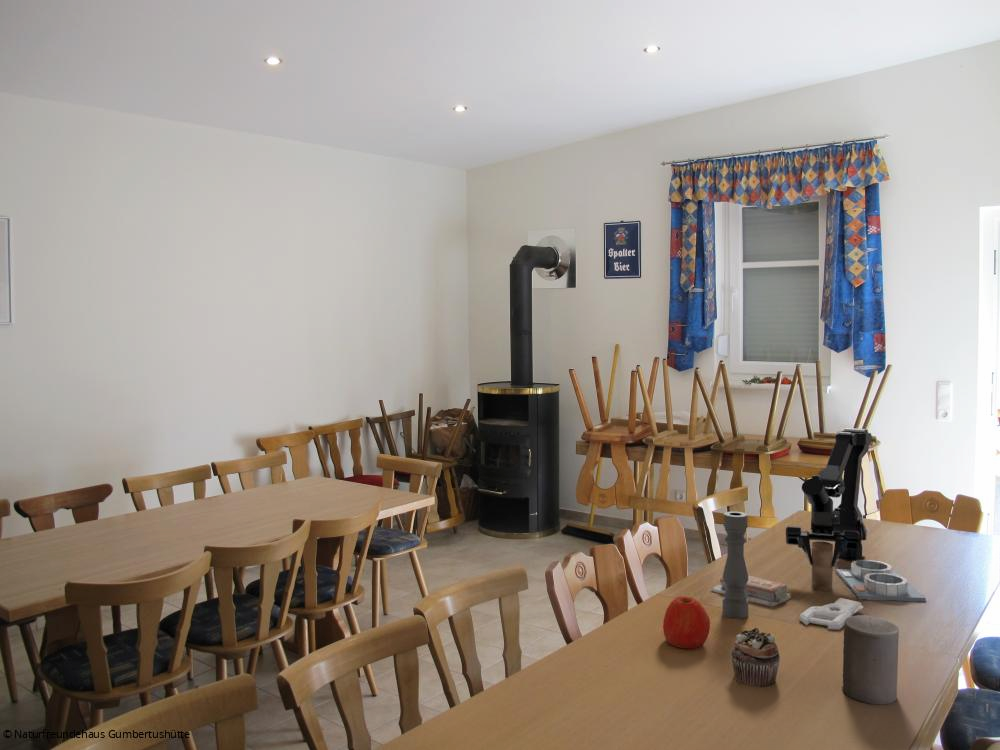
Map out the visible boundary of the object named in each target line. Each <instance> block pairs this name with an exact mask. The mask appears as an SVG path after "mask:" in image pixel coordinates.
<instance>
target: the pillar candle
mask: <svg viewBox="0 0 1000 750" xmlns="http://www.w3.org/2000/svg"><path fill="white" fill-rule="evenodd" d="M899 633H900V628H899V626H898V625H896V624H895V623H894V622H892V621H889V620H888V619H886V618H881V617H877V616H871V615H870V616H869V615H861V614H860V615H859V614H858V615H857V614H856V615H852V616H851V617H848V618H846V619H845V621H844V626H843V647H842V648H843V650H842V654H843V655H842V656H843V659H842V687H841V690H842V692H843V694H845V695H846V696H847V697H849V698H851V699H853V700H855V701H858V702H862V703H864V704H870V705H890V704H893V703H894V702H895V701H896V700H897V696H898V693H897V692H898V669H899V668H898V667H899V664H898V663H899V638H900V637H899V636H900V635H899Z"/></svg>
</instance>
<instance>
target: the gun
mask: <svg viewBox="0 0 1000 750" xmlns="http://www.w3.org/2000/svg"><path fill="white" fill-rule="evenodd" d="M863 609H864V606H863V605H862V603H861V602H859V601H856V600H851V599H848V598H847V599H846V598H843V597H839V598H838V599H837V600H836V601H834V603H832V602H830V603H828V604H824V605H818V606H809V607H808V608H807V609H806V610H804V611H803V612H801V614H799V616H798V617H799V618H798V619H799V621H800V622H801V623H802V624H804V625H805V626H808V625H809V624H816V625H821V626H826V627H827V630H841V629H842V628H844V621H845V619H846V618H848V617H851V616H854V614H857V612H858V611H860V610H861V611H862V610H863Z"/></svg>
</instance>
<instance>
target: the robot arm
mask: <svg viewBox="0 0 1000 750" xmlns="http://www.w3.org/2000/svg"><path fill="white" fill-rule="evenodd" d="M872 440H873V435H872V433H871V432H869V431H868V429H866V428H853V427H845V428H844V429H843V430H839V431H837V432H836V435H835V443H834V444H833V448H832V450H831V453H830V455H829V458H828V461H827V462H826V463H827V464H826V465H825V467H824V468H823V469H821V470H820V471H818V473H817V475H815V474H814V475H812V477H811V478H808V479H806V480H805V481H804V482H803V483H802V484H801V491H802V492H803V493H802V494H803V495H804V496H805V499H806V500H807V502H808V504H809V505H811V506H810V507H811V508H810V510H811V511H810V512H811V515H810V516H811V517H810V531H808V530H804V529H803V530H802V526H796V525H795V526H794V525H793V526H792V525H787V526H786V528H785V543H786V544H787V545H792V546H797V547H798V548H801V549H802V551H803V552H804V554H805V556H806V558H807V560H808V564H809V565H810V566H812V547H811V542H810V541H817V542H818V541H820V542H830V543H832V542H833V543H834V546H833V547H834V548H833V568H835V566H836V563H837V561H838V559H841V560H842V559H843V560H846V561H848V562H849V561H850V562H853V561H857V560H865V559H866V556H864V555H863V544H862V541H867V535H868V534H867V533H868V531H867V528H866V526H865V523H864V521H863V514H862V512H861V510H860V508H859V504H858V502H859V495H860V494H859V493H860V482H861V473H862V462H863V458H864V457H865V455H866V454H867V453H868V452H869V451H870V445H871V443H872ZM840 497H841V499H840V504H839V505H838V506H837V507H835V508H834V501H833V499H832V498H840Z"/></svg>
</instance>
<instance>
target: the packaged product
mask: <svg viewBox="0 0 1000 750" xmlns="http://www.w3.org/2000/svg"><path fill="white" fill-rule="evenodd" d="M719 582H720V584H717V585H715V586H713V587H710V588H711V592H714V593H718V594H722V595H724V592H726V590H727V587H726V584H725V582H724V580H723V576H721V578H720V579H719ZM744 587H745V589H744V591H745V593H746V594H747V599H746V600H747V601H748V602H752V603H756V604H760V605H764V606H766V607H767V606H768V607H771V608H774V607H776V606H778V605H780V604H783V603H784V602H786V601H789V600H790V599H791V598H792V597H791V593H790V592H789V593H788V591H787V590H788V588H787V587H788V586H787V584H784V583H783V582H778V581H772V580H770V579H767V578H766V579H765V578H760V577H758V576H757V577H756V576H752V575H749V574H748V582H747V584H746V585H745V586H744ZM783 601H784V602H783Z"/></svg>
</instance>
